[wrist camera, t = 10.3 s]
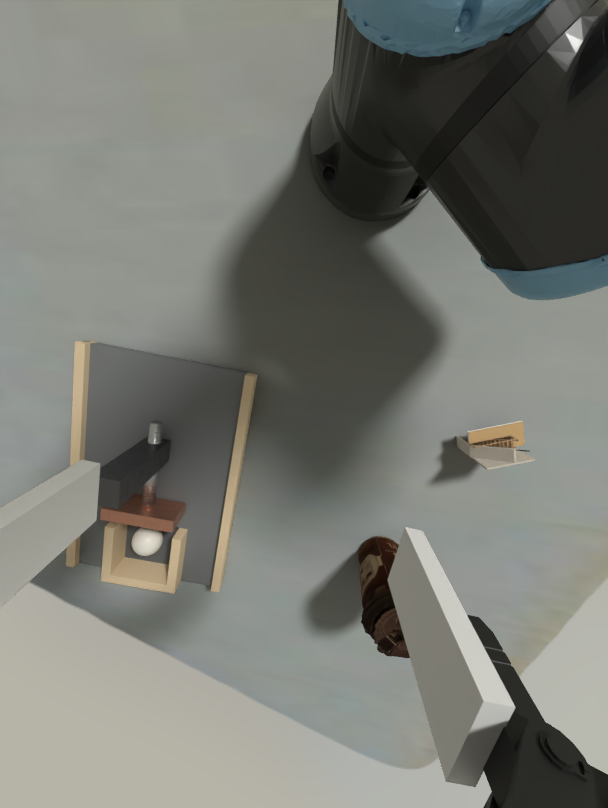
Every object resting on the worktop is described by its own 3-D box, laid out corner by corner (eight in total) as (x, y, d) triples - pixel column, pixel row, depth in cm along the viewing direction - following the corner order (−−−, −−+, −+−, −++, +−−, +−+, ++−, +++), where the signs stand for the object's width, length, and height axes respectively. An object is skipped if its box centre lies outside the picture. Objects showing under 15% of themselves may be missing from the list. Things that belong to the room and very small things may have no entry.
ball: (125, 559, 45) (140, 537, 48) (155, 564, 45) (167, 542, 48) (125, 538, 43) (140, 516, 47) (155, 543, 43) (168, 521, 47)
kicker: (126, 413, 42) (57, 445, 30) (196, 426, 42) (154, 463, 31) (119, 509, 45) (53, 572, 34) (183, 520, 46) (141, 587, 34)
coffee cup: (349, 579, 50) (363, 664, 37) (348, 530, 48) (363, 602, 35) (406, 577, 49) (441, 663, 37) (408, 528, 48) (445, 601, 35)
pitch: (88, 340, 42) (66, 342, 38) (257, 374, 43) (252, 378, 39) (77, 554, 49) (58, 573, 45) (223, 579, 50) (216, 600, 46)
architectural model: (453, 424, 44) (482, 442, 37) (505, 413, 44) (544, 430, 37) (456, 447, 45) (485, 470, 38) (507, 437, 45) (545, 458, 37)
